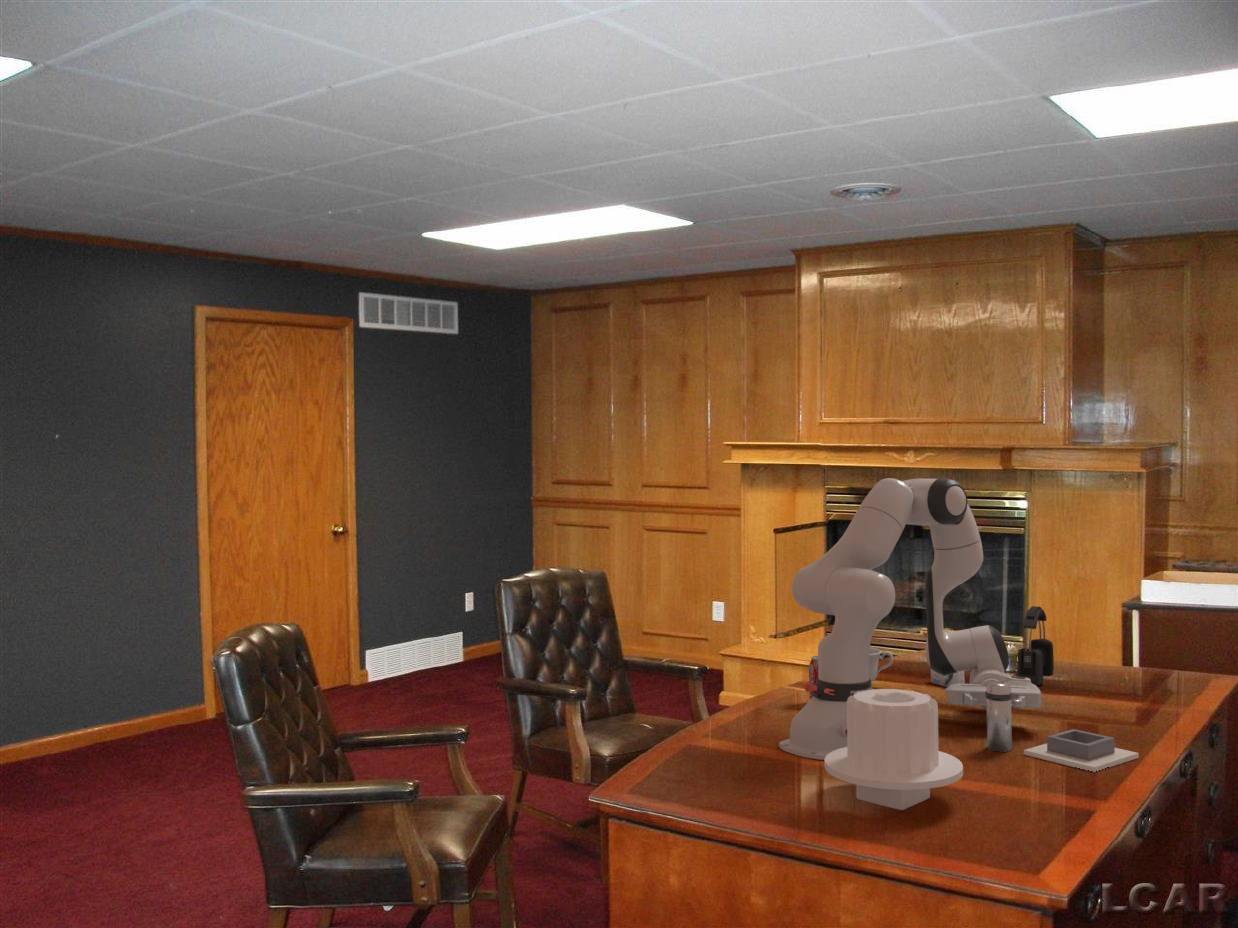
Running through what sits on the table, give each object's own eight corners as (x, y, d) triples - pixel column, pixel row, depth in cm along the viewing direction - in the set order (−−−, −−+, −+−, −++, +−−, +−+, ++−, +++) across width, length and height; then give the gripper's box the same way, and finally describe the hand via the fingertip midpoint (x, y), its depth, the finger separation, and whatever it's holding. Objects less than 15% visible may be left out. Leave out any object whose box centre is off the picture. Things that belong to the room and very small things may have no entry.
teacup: (894, 692, 291) (894, 654, 291) (837, 691, 294) (836, 653, 294) (892, 682, 303) (892, 646, 302) (837, 681, 306) (836, 645, 305)
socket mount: (1094, 772, 219) (1094, 752, 219) (1023, 754, 232) (1023, 735, 232) (1138, 757, 228) (1138, 738, 228) (1068, 741, 241) (1068, 723, 241)
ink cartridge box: (958, 690, 292) (957, 653, 292) (930, 682, 302) (929, 647, 302) (965, 689, 293) (965, 652, 293) (937, 681, 303) (936, 646, 303)
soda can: (830, 709, 274) (829, 661, 274) (804, 705, 279) (803, 658, 278) (842, 703, 280) (841, 656, 280) (817, 700, 284) (816, 653, 284)
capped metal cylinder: (1002, 753, 233) (1001, 687, 233) (981, 748, 237) (980, 683, 237) (1018, 749, 236) (1017, 683, 236) (996, 743, 240) (995, 679, 240)
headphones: (1040, 688, 293) (1039, 613, 293) (1015, 685, 296) (1014, 611, 296) (1055, 672, 312) (1054, 602, 311) (1032, 670, 315) (1031, 600, 315)
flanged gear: (798, 799, 206) (796, 698, 205) (872, 770, 223) (870, 677, 223) (918, 831, 188) (916, 721, 187) (988, 796, 205) (986, 695, 205)
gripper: (944, 674, 260) (946, 687, 246) (1037, 678, 255) (1044, 691, 241) (945, 701, 260) (947, 715, 246) (1037, 705, 255) (1044, 720, 241)
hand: (995, 703), depth 244 cm, fingers open, 8 cm apart
